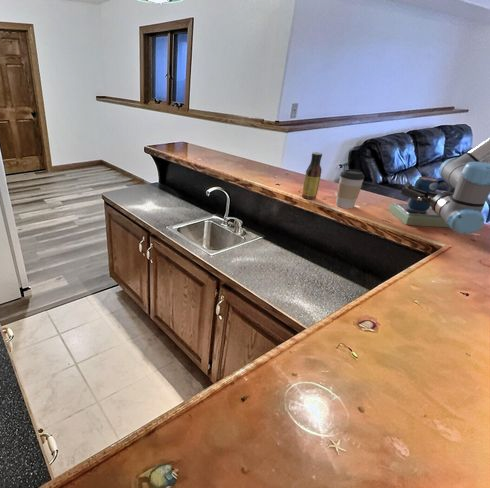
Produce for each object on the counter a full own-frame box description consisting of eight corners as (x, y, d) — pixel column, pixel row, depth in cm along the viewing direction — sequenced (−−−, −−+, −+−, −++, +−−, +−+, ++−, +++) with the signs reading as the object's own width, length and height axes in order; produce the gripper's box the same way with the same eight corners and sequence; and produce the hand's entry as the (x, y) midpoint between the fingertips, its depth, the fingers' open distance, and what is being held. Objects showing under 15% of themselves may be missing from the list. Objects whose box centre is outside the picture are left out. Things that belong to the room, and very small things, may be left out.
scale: (428, 212, 141) (430, 205, 140) (449, 227, 128) (452, 219, 127) (388, 210, 143) (391, 203, 142) (405, 224, 130) (408, 216, 128)
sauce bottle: (306, 194, 160) (314, 150, 151) (318, 198, 156) (328, 153, 147) (298, 197, 156) (306, 152, 148) (311, 201, 152) (320, 155, 143)
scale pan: (424, 206, 139) (425, 205, 138) (440, 217, 129) (440, 215, 128) (395, 205, 140) (395, 203, 140) (408, 215, 130) (408, 213, 130)
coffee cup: (350, 211, 142) (359, 174, 135) (328, 205, 148) (337, 170, 141) (360, 206, 147) (370, 171, 140) (339, 200, 153) (347, 166, 146)
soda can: (431, 212, 130) (443, 181, 125) (411, 211, 131) (422, 180, 126) (422, 206, 137) (433, 176, 131) (403, 205, 138) (413, 175, 132)
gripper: (400, 212, 116) (386, 193, 134) (491, 222, 109) (463, 201, 127) (407, 190, 112) (392, 174, 130) (502, 199, 105) (472, 181, 123)
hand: (427, 187), depth 129 cm, fingers open, 13 cm apart
